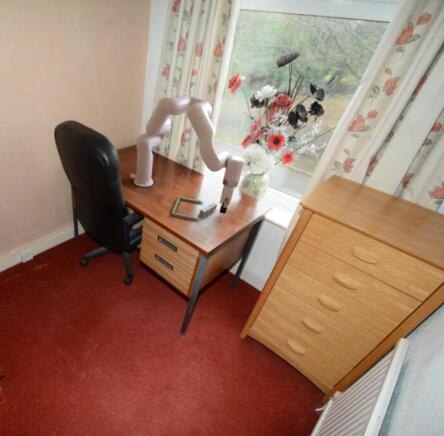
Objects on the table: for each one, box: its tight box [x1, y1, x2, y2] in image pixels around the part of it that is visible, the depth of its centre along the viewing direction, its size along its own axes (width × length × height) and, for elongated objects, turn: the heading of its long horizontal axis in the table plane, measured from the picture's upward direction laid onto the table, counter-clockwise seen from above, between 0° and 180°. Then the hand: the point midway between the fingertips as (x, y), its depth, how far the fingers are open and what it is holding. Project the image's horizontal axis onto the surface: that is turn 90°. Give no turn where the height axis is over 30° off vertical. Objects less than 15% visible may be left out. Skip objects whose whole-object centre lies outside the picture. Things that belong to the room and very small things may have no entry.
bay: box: [170, 196, 203, 222], centre depth 151 cm, size 14×19×2 cm
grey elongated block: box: [198, 202, 218, 219], centre depth 147 cm, size 12×3×4 cm, turn 132°
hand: (222, 212), depth 145 cm, fingers closed
